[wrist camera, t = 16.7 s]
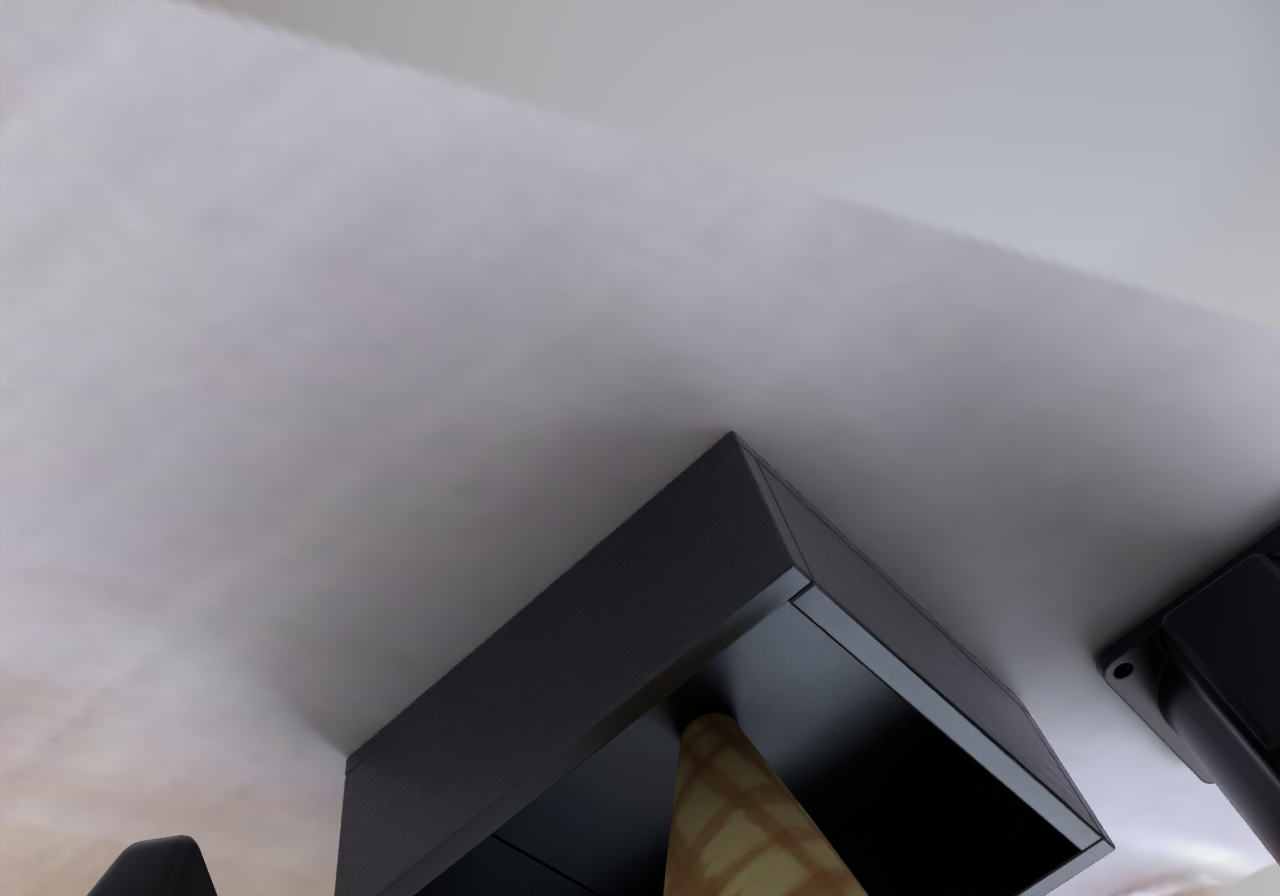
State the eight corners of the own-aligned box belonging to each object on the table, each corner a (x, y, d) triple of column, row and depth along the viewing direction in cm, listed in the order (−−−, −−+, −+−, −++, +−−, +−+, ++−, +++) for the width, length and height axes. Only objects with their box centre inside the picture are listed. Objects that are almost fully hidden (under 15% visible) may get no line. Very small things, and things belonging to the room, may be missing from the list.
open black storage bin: (1023, 702, 28) (1117, 848, 24) (679, 947, 30) (714, 1112, 27) (732, 429, 22) (793, 562, 18) (345, 759, 25) (328, 934, 21)
